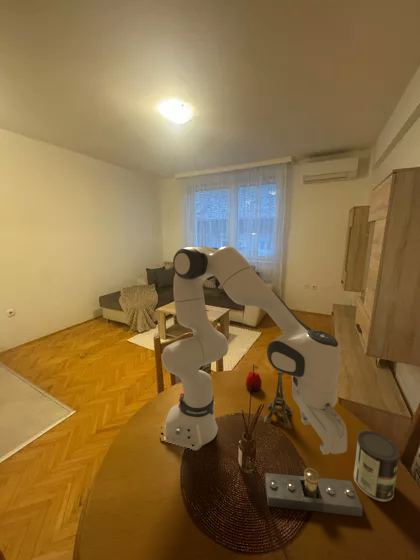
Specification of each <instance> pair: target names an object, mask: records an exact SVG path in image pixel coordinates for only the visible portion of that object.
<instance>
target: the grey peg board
mask: <svg viewBox="0 0 420 560" xmlns="http://www.w3.org/2000/svg"><path fill="white" fill-rule="evenodd" d="M264 479H265V480H264V481H265V490H266V498H267V506H268V507H274V508H275V507H276V508H284V509H292V510H299V511H300V510H301V511H309V512H310V511H311V512H318V513H319V512H320V513H326V514H327V513H328V514H336V515H344V516H345V515H346V516H354V517H355V516H356V517H363V512H364V511H363V509H364V508H363V505H362V503H361V501H360V500H361V499H360V498H359V496H358V494H357V491H356V489H355V487H354V485H353V482H352V480H344V479H335V478H334V479H333V478H323V477H319V482H318V483H317V494H316V495H317V497H318V498H317V497H316V498H308V497H304V490H303V489H305V477H304V475H303V476H302V475H291V474H282V473H273V472H272V473H271V472H265V477H264Z"/></svg>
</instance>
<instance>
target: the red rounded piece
mask: <svg viewBox="0 0 420 560" xmlns="http://www.w3.org/2000/svg"><path fill="white" fill-rule="evenodd" d="M255 368H256V369H259V367H258V366H255V364H254V363H252V371H249V372H248V374H247V376H246V379H245V380H246V382H245V386H246V388H247V389H248V391H249V392H259V391H260V390H261V388H262V378H261V376H260V373H259V372H255Z"/></svg>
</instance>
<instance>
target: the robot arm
mask: <svg viewBox="0 0 420 560" xmlns="http://www.w3.org/2000/svg"><path fill="white" fill-rule="evenodd" d="M172 265H173V266H172V267H173V270H174V273H175V274H174V276H173V285H172V286H173V300H174V307H175V314H176V321H177V322H178V324H179V325H180V326H182V327H184V328H187V329H191V331H192V334H193V336H190V337H187V338H182V339H179V340H176V341H174V342H172V343H170V344H168V345H166V346H164V348H163V350H162V354H161V362H162V364H163V367H164V368H165V370H166V371H167V372H168V373H170V374H172V375H174V376H177V377H178V378H179V380H180V381H181V384H182V389H183V390H181V391H180V393H179V399H178V403H177V404H174V405H173V406H172V407H171V408H170V410H169V411H168V413H167V415H166V417H167V419H166V425H165V437H164V440H166V441H168V442H171V443H174V444H176V445H175V446H177V445H179V446H178V447H180V446H182V448H184V447H186V448H185V449H187V448H190V449H189V450H191V449H192V451H195V452H196V451H200V449H201V448H202V447H203V446H204V445H206V444H208V443H210V442H211V441H213V440H214V439H215V437H216V436H217V434H218V430H219V428H218V424H217V422H216V418H215V417H216V416H215V398H214V396H215V395H214V393H213V380H212V377H211V375H210V373H208V372H206V371H204V370H202V369H200V368H201V367H203V366H206V365H209V364H212V363H216V362H217V361H219V360H221V359H222V358H224V357H225V356H226V355H227V354H228V351H229V342H228V339H227V338H226V336H225V335H224V333H222V332H220V331H219V330H217V329H216V328H215V327H214V326H213V325H212V323H211V321H210V319H209V316H208V313H207V312H208V311H207V306H206V300H205V295H204V287H203V285H204V282H205V281H206V280H208V281H211V280H212V279H214V278H216V280H217V281H218V282H219V284H220V285H221V287H222V289H223V290H224V292H225V293H226V295H227V296H228V298H229V299H231V300H232V301H233V303H235V304H238V305H239V306H246V307H247V306H248V307H256V308H259V309H261V310H263V311H265V312H266V313H267V314H268V315H269V317H270V318H271V319H272V320H273V321H274V323H275V324H276V325H277V326H278V327H279V328H280V330H281V331H282V334H281V335H279V336H277V337H276V338H275V339H273V340H272V341H271V342H269V343H268V345H267V348H266V356H267V359H268V363H269V364H270V365H271V366H272V368H273V369H275V370H276V371H277V372H278V371H279V372H281V373H283V375H284V374H285V375H289V376H291V381H292V385H291V394H292V395H291V396H292V399H293V400H294V402H295V403H296V404H297V406H298V407H299V413H300V416H301V423H302V424H303V425H304V426H309V425H311V426H312V428H313V430H314V431H315V432H316V434H317V435H318V436H319V438H320V439H321V441H322V443H320V444H319V450H320V451H321V453H322V455H323V456H324V455H325V456H326V455H329V454H332V455H338V454H343V453H346V452H347V450H348V430H347V426H346V422H344V420H343V418H342V416H340V414H339V413H337V411H336V410H335V409H334V408H335V406H336V405H337V397H338V387H339V385H338V384H339V383H338V375H339V374H340V369H341V367H340V366H341V351H340V350H341V349H340V345H339V342H338V339H336V337H334V336H333V335H332V334H330V333H328V332H326V331H323V330H321V329H320V330H319V329H312V328H311V327H309V326H308V325H307V324H305V323H304V322H302V320H300V319H299V318H298V317H297V316H296V315H295V314H294V313H293V311H292V310H291V309H290V307H288V306H287V304H286V303H285V302H284V301H283V299H282V297H280V296H279V295H278V294H277V293H276V292H275V291H274V289H272V288H271V287H270V286H269V285H267V283H265V282H264V281H263V279H261V277H260V276H259V275H258V274H257V272H255V270H254V269H253V267H252V265H251V264H250V263H249V261H247V259H246V258H245V257H244V256H243V255H242V254H241V253H240V252H239V251H238V250H237V249H236V248H235V247H233V246H231V245H226V246H222V247H219V248H218V247H209V246H194V247H193V246H188V247H183V248H180V249H179V250H177V251H176V252H175V254H174V256H173V260H172ZM192 445H194V446H192Z"/></svg>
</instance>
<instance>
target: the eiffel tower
mask: <svg viewBox="0 0 420 560" xmlns="http://www.w3.org/2000/svg"><path fill="white" fill-rule="evenodd" d="M276 375H277V376H278V377H277V382H276V383H277V385H276V391H274V392H275V394H274V398H273V399H272V401H271V402H270V403H269V404H267V405H266V406H267V407H266V410H270V411H269V413H268V414H266V416H264V417H263V423H267V424H270V425H271V423H272V419H273V418H272V417H273V415H274V414H275V413H278V414H280V415H282V417H283V418H282V419H283V429H288V430H292V423H291V422H290V419H288V417H287V415H290V416H293V409H291V408H290V406H288V404H287V401H285V393H284V391H283V390H284V389H283V387H284V386H283V376H284V373H281V372H279V371H277V374H276ZM277 406H278V407H277Z"/></svg>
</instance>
